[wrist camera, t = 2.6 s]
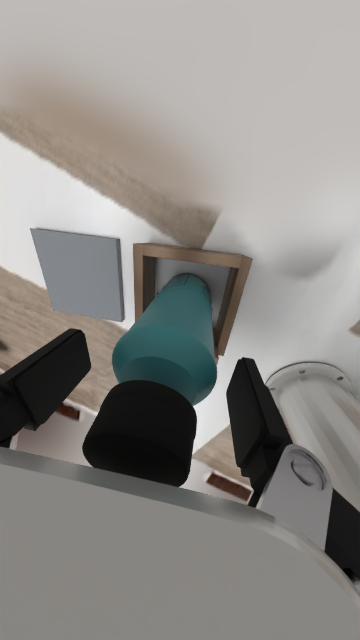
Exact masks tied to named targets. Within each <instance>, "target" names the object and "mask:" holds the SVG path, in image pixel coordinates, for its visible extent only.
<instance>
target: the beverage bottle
mask: <svg viewBox="0 0 360 640" xmlns="http://www.w3.org/2000/svg"><path fill="white" fill-rule="evenodd" d="M167 282H168V281H167ZM161 289H162V288H161ZM208 289H209V287H207V286H206V284H205V283H204V282H203V281H202V280H201V279H199V278H198V277H196V276H193V275H190V274H189V275H183V274H182V275H178V276H176V277H175V276H174V277H173V279H171V280H170V281H169V282H168V283H167V285H166V286H165V287H164V288H163V289H162V290H161V292H160V293H159V294H158V293H157V294H158V295H157V296H156V298H155V299H154V298H153V299H154V300H153V299H152V300H153V301H152V302H151V301H150V302H151V303H150V304H147V305H148V307H147V309H146V310H145V309H144V310H145V311H143V312H144V313H143V314H142V315H141V316H140V317H139V319H138V320H137V321H136V322H135V324H134V325H133V326H132V327H131V328H130V330H129V331H128V332H127V333H125V334H124V335H123V336H122V337H121V338H120V340H119V341H118V342H117V344H116V346H115V348H114V351H113V354H112V365H113V370H114V373H115V376H116V378H117V380H118V382H119V384H118V385H116V386H114V387H113V388H112V389H111V390H110V392H109V393H108V395H107V396H106V398H105V399H104V401H103V403H102V405H101V408H100V411H99V413H98V415H97V417H96V418H95V421H94V422H93V425H92V426H91V428H90V430H89V432H88V434H87V435H86V437H85V440H84V443H83V446H82V449H83V454H84V456H85V458H86V459H87V461H88V462H89V463H90V465H92V466H93V467H94V468H97V469H102V470H106V471H110V472H115V473H119V474H123V475H128V476H132V477H136V478H141V479H145V480H149V481H153V482H158V483H162V484H166V485H170V486H175V487H180V486H181V485H183V484H184V483H185V481H186V480H187V478H188V475H189V472H190V466H191V458H192V451H193V443H194V439H195V436H196V425H197V416H196V412H195V410H194V408H193V406H194V405H196V404H198V403H199V402H201V401H202V400H204V399H205V398H206V397H207V396H208V395H209V394H210V392H211V391H212V389H213V388H214V386H215V383H216V379H217V366H216V361H215V355H214V342H213V330H212V317H213V316H212V313H211V310H212V307H211V303H212V302H211V303H210V295H209V290H208ZM159 291H160V290H159ZM154 297H155V296H154ZM211 301H212V300H211Z"/></svg>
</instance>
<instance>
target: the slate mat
mask: <svg viewBox="0 0 360 640" xmlns="http://www.w3.org/2000/svg"><path fill="white" fill-rule="evenodd" d="M30 231H31V234H32V238H33V241H34V245H35V248H36V252H37V255H38V259H39V262H40V266H41V269H42V273H43V276H44V280H45V283H46V286H47V290H48V293H49V297H50V300H51V304H52V307H53V310H54V311H60V312H65V313H71V314H77V315H83V316H89V317H95V318H101V319H106V320H112V321H118V322H122V321H123V320H124V305H123V288H122V272H121V255H120V239H113V238H105V237H97V236H90V235H82V234H74V233H66V232H58V231H50V230H42V229H32V228H30Z"/></svg>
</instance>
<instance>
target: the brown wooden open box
mask: <svg viewBox="0 0 360 640" xmlns="http://www.w3.org/2000/svg"><path fill="white" fill-rule="evenodd" d="M156 257H159V258H166V259H174V260H181V261H189V262H196V263H204V264H211V265H219V266H226V267H231V268H230V272H229V276H228V280H227V285H226V289H225V293H224V297H223V301H222V305H221V309H220V313H219V317H218V321H217V325H216V329H212V330H213V342H214V355H215V361H216V365H217V363H218V359H219V357H218V355H222V356H224V353H225V349H226V346H227V343H228V339H229V336H230V333H231V329H232V326H233V323H234V319H235V316H236V313H237V310H238V306H239V303H240V300H241V296H242V293H243V290H244V286H245V283H246V280H247V276H248V273H249V270H250V266H251V263H252V260H253V259H252V258H249V257H246V256H244V255H239V254H232V253H224V252H216V251H208V250H200V249H192V248H184V247H176V246H168V245H161V244H153V243H136V244H133V258H134V297H135V322H136V321H137V320H138V319H139V317H140V316H141V315H142V314H143V313H144V312H143V311H145V310H146V309H147V307H148V305H147V304H150V303H151V302H152V301H153V300H154V299H153V298H154V293H155V264H156ZM152 299H153V300H152ZM150 301H151V302H150ZM144 309H145V310H144Z"/></svg>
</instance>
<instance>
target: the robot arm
mask: <svg viewBox="0 0 360 640" xmlns="http://www.w3.org/2000/svg"><path fill="white" fill-rule="evenodd" d="M90 369H91V362H90V357H89V353H88V348H87V343H86V338H85V334H84V333H83V332H82V331H81V330H78V329H72V328H71V329H68V330H67V331H65V332H64V333H62V334H61V335H59V336H58V337H56V338H55V339H54V340H52V341H51V342H49V343H48V344H46V345H45V346H43V347H42V348H40V349H39V350H37V351H36V352H34V353H33V354H31V355H30V356H28V357H27V358H25V359H24V360H22V361H21V362H19V363H18V364H16V365H15V366H13V367H12V368H10V369H9V370H8V371H6V372H5V373H3V374H2V375H0V640H360V403H359V402H358V401H357V400H356V399H355V398H354V397H353V396H352V395H351V392H352V385H351V383H350V380H349V379H348V378H347V377H346V376H345V375H344V374H343V373H342V372H341V371H340V370H338V369H336V368H335V367H333V366H330V365H327V364H321V363H301V364H296V365H292V366H289V367H286V368H284V369H282V370H280V371H278V372H277V373H275V374H274V375H273V376H272V377H271V378H270V379H269V380H268V381H267V383H266V385H264V382H263V380H262V378H261V375H260V373H259V370H258V368H257V366H256V363H255V361H254V359H250V358H244V357H242V359H239V360H238V361H237V364H236V367H235V370H234V372H233V375H232V378H231V380H230V383H229V386H228V389H227V393H226V396H227V404H228V410H229V417H230V424H231V431H232V438H233V445H234V452H235V459H236V464H237V466H238V467H240V469H241V475H242V476H244V477H249V478H250V483H251V487H252V488H253V490H252V492H251V494H250V496H249V499H248V501H247V503H246V505H244V504H241V503H238V502H234V501H231V500H227V499H223V498H219V497H215V496H211V495H207V494H203V493H199V492H196V491H192V490H188V489H183V488H179V487H175V486H170V485H166V484H162V483H158V482H153V481H149V480H145V479H141V478H136V477H132V476H128V475H123V474H119V473H115V472H110V471H106V470H102V469H97V468H93V467H88V466H84V465H79V464H75V463H71V462H66V461H62V460H58V459H53V458H49V457H44V456H40V455H35V454H31V453H26V452H22V451H17V450H16V444H17V440H18V434H19V431H20V430H21V429H22V428H23V427H24V428H25V429H28V430H33V431H36V429H37V428H38V427H39V426H40V425H41V424H43V423H45V422H46V421H47V420H48V418H49V417H50V416H51V415H52V414H53V413H54V412H55V410H56V409H57V408H58V407H59V406H60V405H61V403H62V402H63V401H64V400H65V399H66V398H67V396H68V395H69V394H70V393H71V392H72V391H73V389H74V388H75V387H76V386H77V385H78V384H79V382H80V381H81V380H82V379H83V378H84V377H85V375H86V374H87V373H88V372H89V371H90ZM281 415H282V416H283V419H284V421H285V423H286V425H287V428H288V430H289V432H290V435H291V437H292V439H293V442H294V444H293V442H292V440H291V438H290V435H289V433H288V431H287V428H286V426H285V424H284V422H283V419H282V417H281Z"/></svg>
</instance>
